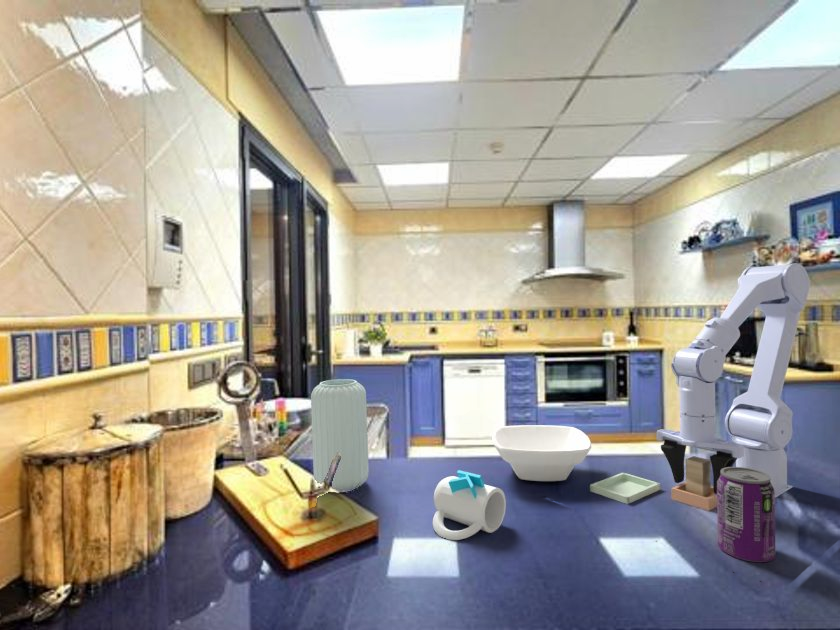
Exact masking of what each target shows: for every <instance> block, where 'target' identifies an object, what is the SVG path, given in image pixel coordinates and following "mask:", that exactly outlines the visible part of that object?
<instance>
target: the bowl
mask: <svg viewBox="0 0 840 630" xmlns="http://www.w3.org/2000/svg"><path fill="white" fill-rule="evenodd" d="M491 441H492V443H493V445H494V447H495V449H496V451H497V452H498V453H499V456H500V458H502V459H501V460H503V461H504V462H505V463H509V465H510V466H511V468H512V470H513V472H514V474H515V475H516V476H517V477H518V479H520V480H525V481H533V482H534V481H535V482H557V481H558V482H561V481H566V480H567V478H568V477H569V476H570V474H571V472H572V471H573V469H574V468H575V466H576V465H581V464H582V463H583V461H584V460H585V459H586V457H587V455H588V454H589V452H590V451H591V449H592V441H591V440H590V437H589V436H588V435H587V434H586V433H585V432H583V431H582V430H581V429H578V428H576V427H574V426H565V425H564V426H563V425H547V424H546V425H545V424H544V425H541V424H539V425H538V424H536V425H535V424H534V425H533V424H529V425H528V424H527V425H526V424H524V425H523V424H521V425H505V426H499V427H497V428H496V429H495V430H494V431H493V433H492V436H491Z"/></svg>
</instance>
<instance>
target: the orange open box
mask: <svg viewBox="0 0 840 630" xmlns="http://www.w3.org/2000/svg"><path fill="white" fill-rule="evenodd" d="M670 495H671V496H670V498H671V500H673V501H676V502H679V503H682V504H685V505H689V506H691V507H694V508H697V509H701V510H703V511H707V512H709V511H711V510H713V509H715V508H717V494H714V489H713V485H711V496H709V497H703V496H700V495H696V494H693V493H690V492H686V481H685V482H684V481H683V483H682V482H681V483H679V484H677V485H676V486H674V487H673V486H672V487H671V488H670Z"/></svg>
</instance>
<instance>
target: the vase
mask: <svg viewBox="0 0 840 630" xmlns="http://www.w3.org/2000/svg"><path fill="white" fill-rule="evenodd" d="M366 391H367V390H366V389H365V386H364V385H362V384H361V383H359V382H358V381H357V380H355V379H347V378H343V379H341V378H340V379H328V380H324V381H320V382H319V384H318V385H316V386H315V387H314V388H313V390H312V391H311V394H310V407H311V408H310V411H311V413H310V414H311V436H312V440H311V441H312V462H313V463H312V464H313V465H312V466H313V469H312V470H313V479H314V481H315V480H316V481H317V483H320V484H322V483H323V481H324V479H325V477H326V475H327V473H328V471H329V468H330V465H331V462H332V460H333V458H334V456H335V454H336V453H337V452H339V453H340V455H341V460H340V462H339V465H338V468H337V470H336V473H335V475H334V478H333V481H332V488H333V489H336V490H339V491H343V490H347V491H348V490H352V489H354V488H357V489H359V488H360V487H361V486H362V485H364V484H365V482H366V481H367V479H368V477H369V473H370V472H369V468H370V467H369V466H370V465H369V446H368V445H369V440H368V414H367V410H368V408H367V392H366ZM359 486H360V487H359ZM358 487H359V488H358Z"/></svg>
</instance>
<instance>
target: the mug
mask: <svg viewBox="0 0 840 630" xmlns="http://www.w3.org/2000/svg"><path fill="white" fill-rule="evenodd" d="M456 474H457V476H456V475H455V476H454V475H453V476H447V477H445V478H443V479H442V480H440V481H439V482H438V484H437V485H436V488H435V489H434V492H433V493H434V494H433V504H434V507H435V509H436V512H435V513H434V514H433V515H434V516H433V518H432V527H433V529H434V532H435V533H436V535H438V536H439V537H441V538H442V537H443V538H442V539H444V538H446V539H445V540H448V541H459V540H463V539H467V538H469V537H472V536H473V535H476V534H477V533H478V532H479V531H480V530H481V531H483V532H485V533H493V532H495V531H497V530H498V529H499V528H500V526H501V525H502V522H503V521H504V518H505V514H506V509H507V504H506V503H507V500H506V495H505V493H504V491H503V489H501V488H499V487H495V486H492V485H488V484H485V483H484V480H483V477H482V475H481V474H476V473H472V472H468V471H465V470H464V471H463V470H460V469H458V470H457V471H456ZM445 519H449V520H451V521H455V522H457V523H460V524H463V525H466V526H468V527H466V528H463V529H460V530H451V529H448V528H447V527H446V526H445V524H444V520H445Z"/></svg>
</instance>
